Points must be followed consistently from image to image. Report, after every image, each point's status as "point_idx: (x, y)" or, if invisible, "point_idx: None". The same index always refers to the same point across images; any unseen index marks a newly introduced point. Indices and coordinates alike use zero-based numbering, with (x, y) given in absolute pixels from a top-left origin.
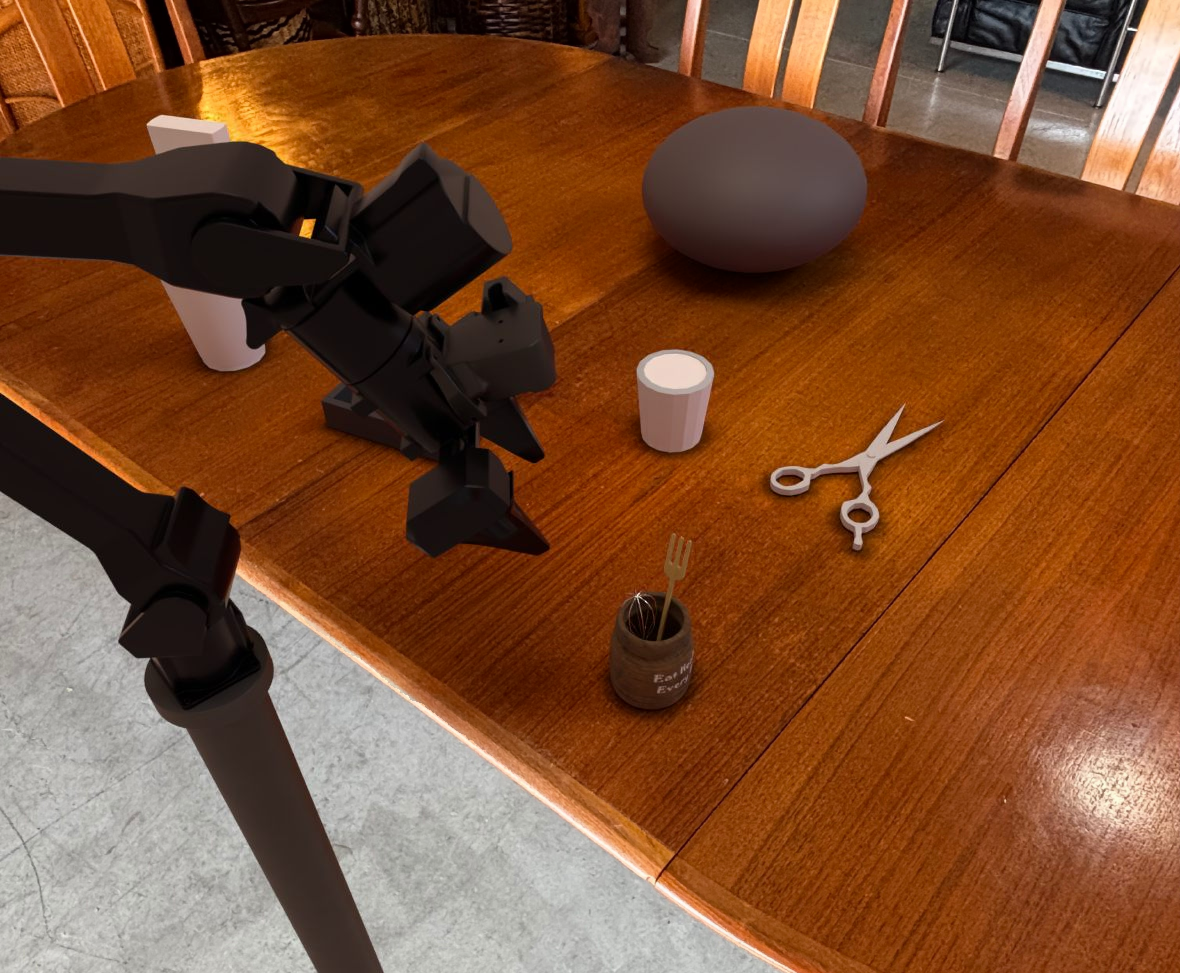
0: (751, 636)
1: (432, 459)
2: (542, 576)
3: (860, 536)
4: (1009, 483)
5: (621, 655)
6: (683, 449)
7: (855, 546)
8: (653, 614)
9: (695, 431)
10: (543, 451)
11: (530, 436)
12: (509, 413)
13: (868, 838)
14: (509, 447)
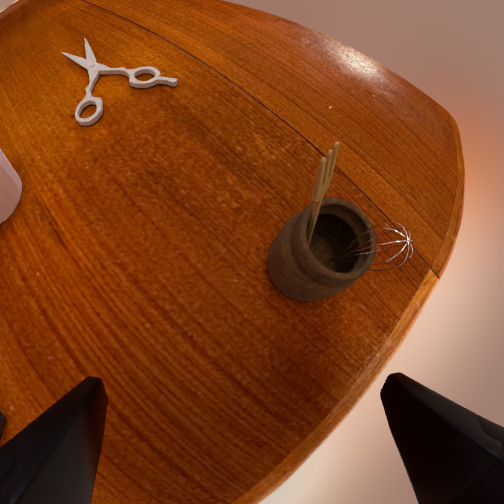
0: (255, 170)
1: (2, 431)
2: (151, 360)
3: (168, 78)
4: (145, 23)
5: (350, 283)
6: (21, 188)
7: (175, 83)
8: (397, 229)
9: (13, 170)
10: (89, 380)
11: (76, 424)
12: (39, 496)
13: (407, 159)
14: (94, 464)
